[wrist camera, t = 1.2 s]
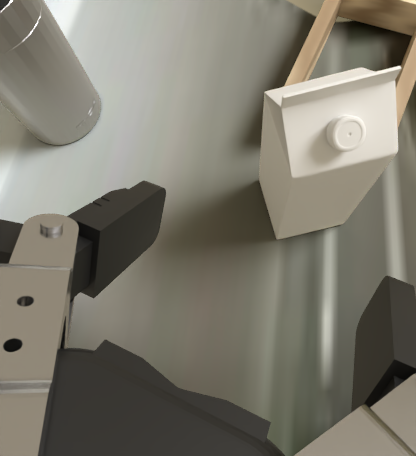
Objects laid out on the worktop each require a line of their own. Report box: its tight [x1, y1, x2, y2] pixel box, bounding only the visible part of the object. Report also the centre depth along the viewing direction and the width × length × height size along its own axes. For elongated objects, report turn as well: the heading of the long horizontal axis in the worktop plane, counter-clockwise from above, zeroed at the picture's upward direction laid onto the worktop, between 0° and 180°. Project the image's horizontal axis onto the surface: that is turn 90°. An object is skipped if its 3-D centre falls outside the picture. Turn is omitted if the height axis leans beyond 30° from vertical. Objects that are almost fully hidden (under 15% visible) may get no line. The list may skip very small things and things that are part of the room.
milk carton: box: [259, 66, 401, 239], centre depth 32 cm, size 7×7×19 cm
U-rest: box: [284, 0, 416, 129], centre depth 42 cm, size 12×20×4 cm, turn 155°
